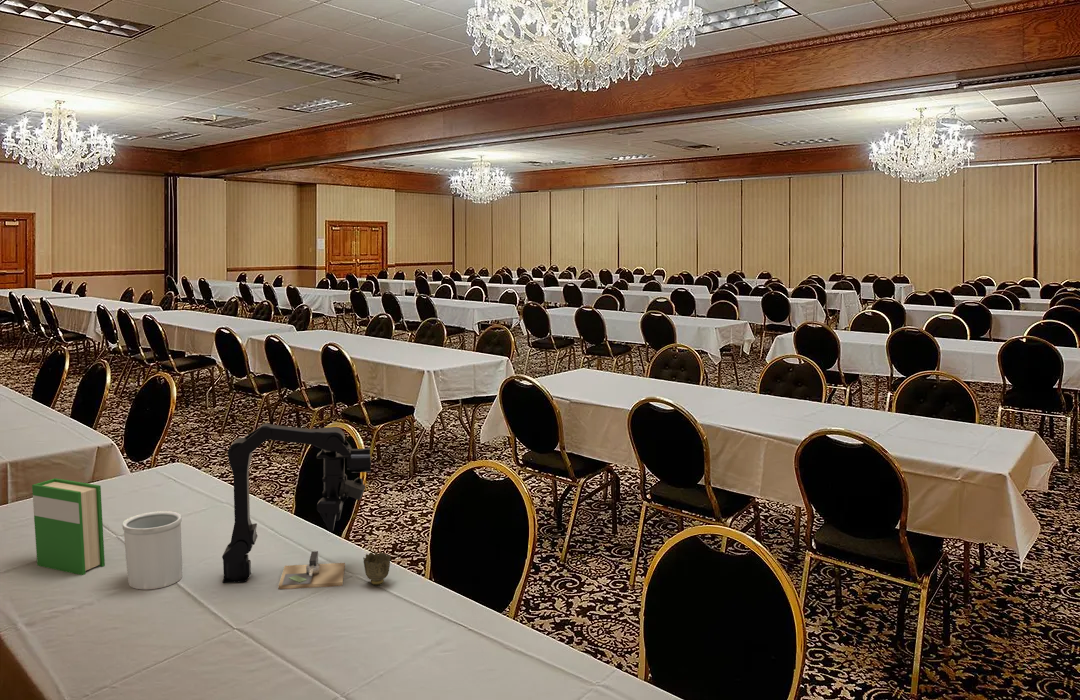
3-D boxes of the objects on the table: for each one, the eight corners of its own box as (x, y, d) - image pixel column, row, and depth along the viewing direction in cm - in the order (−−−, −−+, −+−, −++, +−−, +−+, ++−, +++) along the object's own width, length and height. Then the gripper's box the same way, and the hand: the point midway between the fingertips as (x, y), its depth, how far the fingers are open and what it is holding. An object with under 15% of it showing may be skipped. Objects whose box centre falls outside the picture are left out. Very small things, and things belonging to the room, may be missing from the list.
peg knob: (317, 581, 228) (317, 569, 227) (303, 582, 227) (303, 570, 227) (321, 562, 241) (321, 551, 241) (308, 562, 241) (308, 551, 240)
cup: (384, 590, 226) (384, 562, 225) (359, 588, 228) (359, 560, 227) (394, 580, 234) (394, 552, 232) (370, 577, 235) (369, 550, 234)
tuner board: (278, 589, 226) (278, 584, 226) (284, 569, 240) (284, 564, 239) (342, 585, 229) (342, 581, 229) (345, 566, 243) (345, 561, 242)
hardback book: (104, 565, 240) (100, 485, 236) (82, 575, 233) (77, 492, 229) (60, 556, 246) (55, 478, 242) (37, 565, 239) (32, 485, 236)
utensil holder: (113, 583, 228) (110, 522, 225) (160, 565, 241) (158, 507, 238) (149, 595, 221) (146, 532, 218) (195, 575, 234) (193, 516, 231)
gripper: (357, 482, 225) (357, 537, 227) (367, 464, 244) (367, 515, 246) (316, 482, 224) (316, 537, 226) (329, 463, 243) (329, 514, 245)
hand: (334, 525), depth 236 cm, fingers open, 9 cm apart
